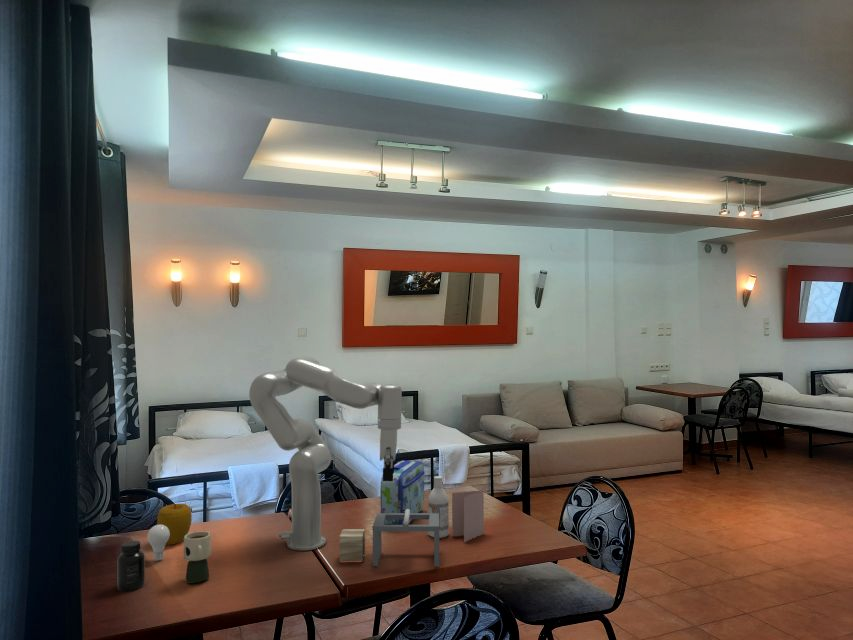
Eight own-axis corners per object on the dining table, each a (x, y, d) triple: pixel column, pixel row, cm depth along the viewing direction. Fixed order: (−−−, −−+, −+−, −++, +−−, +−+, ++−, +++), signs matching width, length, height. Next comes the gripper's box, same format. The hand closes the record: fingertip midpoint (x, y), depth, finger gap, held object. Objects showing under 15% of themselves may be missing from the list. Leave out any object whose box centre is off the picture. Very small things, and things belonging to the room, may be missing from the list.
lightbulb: (148, 558, 188) (148, 523, 189) (170, 555, 191) (170, 520, 191) (146, 565, 183) (146, 529, 183) (169, 562, 185) (169, 526, 185)
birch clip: (362, 562, 184) (362, 536, 184) (339, 562, 184) (339, 536, 184) (364, 554, 191) (364, 529, 191) (342, 554, 191) (342, 529, 191)
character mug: (181, 576, 175) (181, 531, 175) (207, 571, 178) (207, 527, 178) (186, 590, 165) (186, 542, 165) (213, 585, 168) (213, 538, 168)
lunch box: (405, 531, 213) (404, 471, 213) (377, 528, 216) (376, 469, 216) (427, 510, 237) (427, 456, 238) (402, 507, 241) (402, 455, 241)
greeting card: (482, 532, 211) (482, 489, 211) (490, 539, 203) (490, 495, 204) (451, 535, 208) (451, 492, 208) (458, 543, 200) (458, 497, 201)
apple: (184, 548, 197) (184, 508, 197) (150, 548, 197) (151, 509, 197) (196, 536, 208) (196, 499, 208) (165, 537, 208) (165, 499, 208)
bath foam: (426, 532, 211) (425, 475, 211) (444, 530, 213) (444, 473, 213) (432, 539, 204) (431, 480, 205) (451, 537, 206) (450, 478, 207)
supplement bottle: (148, 581, 171) (148, 539, 171) (138, 591, 164) (138, 547, 165) (124, 581, 171) (124, 539, 171) (112, 592, 164) (112, 548, 164)
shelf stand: (372, 566, 181) (372, 521, 181) (376, 550, 194) (376, 508, 194) (439, 566, 181) (439, 521, 181) (438, 550, 194) (438, 508, 194)
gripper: (379, 419, 202) (378, 470, 201) (376, 427, 184) (375, 484, 184) (401, 419, 202) (400, 470, 201) (400, 428, 184) (399, 484, 184)
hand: (388, 477), depth 193 cm, fingers open, 9 cm apart
